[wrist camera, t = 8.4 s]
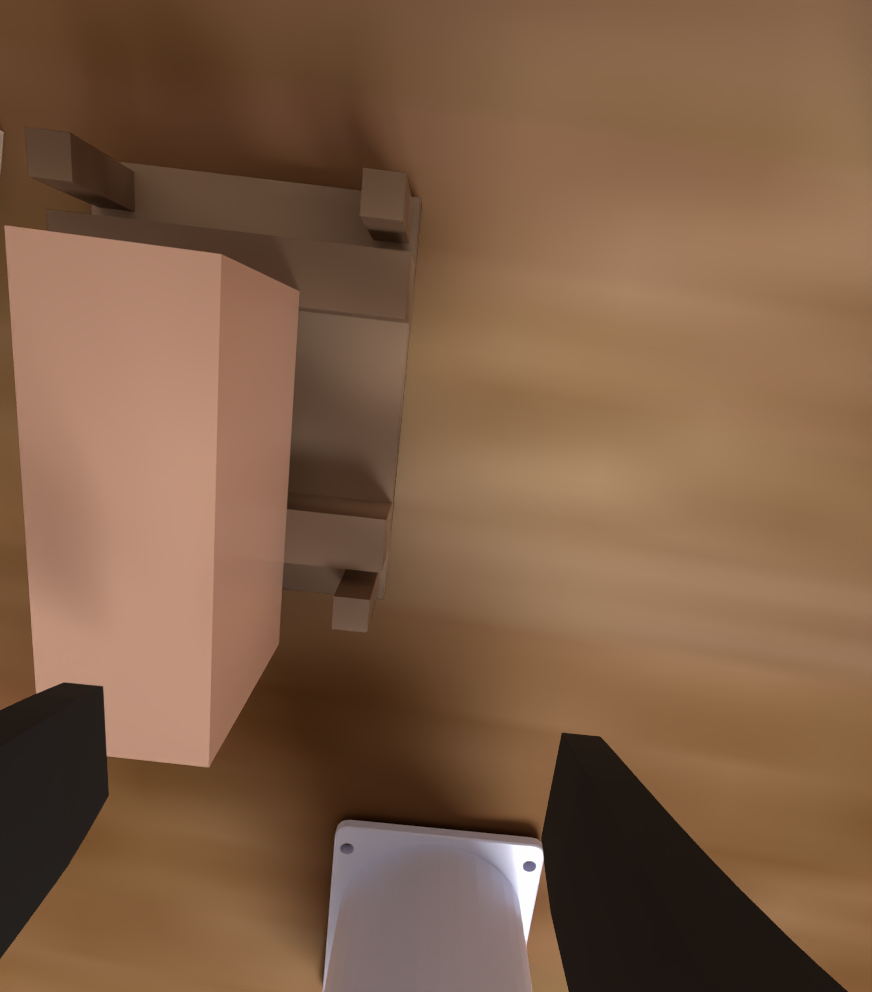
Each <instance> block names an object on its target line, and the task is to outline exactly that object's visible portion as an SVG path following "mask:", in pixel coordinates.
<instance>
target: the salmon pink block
mask: <svg viewBox="0 0 872 992" xmlns="http://www.w3.org/2000/svg"><path fill="white" fill-rule="evenodd" d="M4 226H5V241H6V256H7V271H8V285H9V300H10V315H11V330H12V345H13V359H14V374H15V389H16V404H17V418H18V433H19V448H20V463H21V478H22V492H23V507H24V522H25V537H26V551H27V566H28V581H29V596H30V611H31V625H32V640H33V655H34V670H35V684H36V694H37V693H39V692H41V691H44V690H46V689H49V688H51V687H54V686H56V685H59V684H61V683H63V682H66V683H76V684H86V685H96V686H103V691H104V711H105V732H106V752H107V756H111V757H120V758H129V759H138V760H147V761H156V762H165V763H174V764H182V765H191V766H200V767H209V766H210V765H211V763H212V761H213V759H214V758H215V756H216V754H217V752H218V750H219V749H220V747H221V745H222V743H223V742H224V740H225V738H226V736H227V735H228V733H229V731H230V729H231V728H232V726H233V724H234V722H235V721H236V719H237V717H238V715H239V713H240V712H241V710H242V708H243V706H244V705H245V703H246V701H247V699H248V698H249V696H250V694H251V692H252V691H253V689H254V687H255V685H256V684H257V682H258V680H259V678H260V677H261V675H262V673H263V671H264V669H265V668H266V666H267V664H268V662H269V661H270V659H271V657H272V655H273V654H274V652H275V650H276V648H277V647H278V645H279V633H280V616H281V599H282V582H283V565H284V548H285V531H286V514H287V497H288V480H289V463H290V446H291V430H292V413H293V396H294V379H295V362H296V345H297V328H298V311H299V294H300V291H298V290H296V289H293V288H291V287H289V286H287V285H285V284H283V283H281V282H279V281H277V280H275V279H273V278H270V277H268V276H266V275H264V274H262V273H260V272H258V271H256V270H254V269H252V268H249V267H247V266H245V265H243V264H241V263H239V262H237V261H235V260H233V259H231V258H229V257H226V256H224V255H222V254H217V253H209V252H202V251H194V250H187V249H179V248H172V247H164V246H157V245H149V244H142V243H134V242H127V241H119V240H112V239H104V238H97V237H89V236H82V235H74V234H66V233H59V232H51V231H44V230H36V229H29V228H21V227H14V226H6V225H4Z"/></svg>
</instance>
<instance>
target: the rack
mask: <svg viewBox="0 0 872 992" xmlns="http://www.w3.org/2000/svg"><path fill="white" fill-rule="evenodd" d="M25 135H26V149H27V163H28V177H31V178H33V179H35V180H37V181H40V182H42V183H44V184H47V185H49V186H51V187H53V188H56V189H58V190H60V191H62V192H65V193H67V194H69V195H71V196H74V197H76V198H78V199H80V200H83V201H85V202H87V203H89V204H91V210H92V214H85V213H77V212H68V211H60V210H51V209H46V216H47V231H51V232H59V233H66V234H74V235H82V236H89V237H97V238H104V239H112V240H119V241H127V242H134V243H142V244H149V245H157V246H164V247H172V248H179V249H187V250H194V251H202V252H209V253H217V254H222V255H224V256H226V257H229V258H231V259H233V260H235V261H237V262H239V263H241V264H243V265H245V266H247V267H249V268H252V269H254V270H256V271H258V272H260V273H262V274H264V275H266V276H268V277H270V278H273V279H275V280H277V281H279V282H281V283H283V284H285V285H287V286H289V287H291V288H293V289H296V290H298V291H300V294H299V311H298V328H297V345H296V362H295V379H294V396H293V413H292V430H291V446H290V463H289V480H288V497H287V514H286V531H285V548H284V565H283V582H282V589H286V590H296V591H305V592H315V593H324V594H334V598H333V613H332V627H331V629H336V630H345V631H355V632H365V633H367V631H368V627H369V623H370V620H371V616H372V612H373V609H374V605H375V601H376V599H381V600H383V598H384V594H385V590H386V579H387V569H388V558H389V548H390V537H391V526H392V516H393V505H394V495H395V484H396V473H397V463H398V452H399V441H400V431H401V420H402V410H403V399H404V388H405V378H406V367H407V357H408V346H409V335H410V325H411V314H412V303H413V293H414V282H415V272H416V261H417V250H418V240H419V229H420V219H421V208H422V204H421V198H419V197H411V193H410V187H409V182H408V176H407V173H403V172H394V171H386V170H378V169H370V168H363V175H362V189H361V190H352V189H344V188H336V187H327V186H319V185H311V184H302V183H294V182H286V181H277V180H269V179H261V178H252V177H244V176H236V175H227V174H219V173H210V172H202V171H194V170H185V169H177V168H169V167H160V166H152V165H144V164H135V163H127V162H119V161H116V160H114V159H113V158H111V157H109V156H108V155H106V154H104V153H103V152H101V151H100V150H98V149H96V148H95V147H93V146H91V145H90V144H88V143H86V142H85V141H83V140H82V139H80V138H78V137H77V136H75V135H73V134H72V133H70V132H63V131H54V130H46V129H38V128H29V127H25Z"/></svg>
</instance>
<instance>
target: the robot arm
mask: <svg viewBox="0 0 872 992" xmlns="http://www.w3.org/2000/svg"><path fill="white" fill-rule="evenodd" d="M108 796H109V793H108V772H107V752H106V732H105V711H104V691H103V686H96V685H86V684H76V683H66V682H63V683H61V684H59V685H56V686H54V687H51V688H49V689H46V690H44V691H41V692H39V693H37V694H35V695H32V696H30V697H28V698H26V699H24V700H21V701H19V702H17V703H15V704H13V705H11V706H9V707H6V708H4V709H2V710H0V958H1V957H2V956H3V954H4V953H5V952H6V950H7V949H8V947H9V946H10V945H11V943H12V942H13V941H14V939H15V938H16V937H17V935H18V934H19V933H20V931H21V930H22V929H23V927H24V926H25V924H26V923H27V922H28V920H29V919H30V918H31V916H32V915H33V913H34V912H35V911H36V909H37V908H38V907H39V905H40V904H41V902H42V901H43V900H44V898H45V897H46V896H47V894H48V893H49V891H50V890H51V889H52V887H53V886H54V885H55V883H56V882H57V880H58V879H59V878H60V876H61V875H62V873H63V872H64V870H65V869H66V868H67V866H68V865H69V863H70V861H71V860H72V858H73V856H74V855H75V853H76V851H77V850H78V848H79V846H80V845H81V843H82V841H83V840H84V838H85V836H86V835H87V833H88V831H89V829H90V828H91V826H92V824H93V822H94V821H95V819H96V817H97V815H98V814H99V812H100V810H101V808H102V806H103V805H104V803H105V801H106V799H107V798H108ZM541 839H542V843H541V842H540V841H539V840H538V839H536V838H532V837H522V836H512V835H501V834H491V833H481V832H471V831H460V830H450V829H440V828H430V827H419V826H409V825H399V824H389V823H378V822H368V821H358V820H344V821H342V822H340V823H339V824H338V826H337V829H336V833H335V841H334V854H333V866H332V879H331V892H330V905H329V917H328V930H327V943H326V955H325V968H324V981H323V992H533V990H532V983H531V976H530V969H529V962H528V955H527V948H526V945H527V940H528V935H529V930H530V925H531V920H532V915H533V910H534V905H535V900H536V895H537V890H538V885H539V880H540V875H541V870H542V865H543V860H544V864H545V873H546V881H547V888H548V895H549V903H550V910H551V915H552V920H553V924H554V929H555V933H556V938H557V942H558V946H559V951H560V955H561V959H562V964H563V968H564V972H565V977H566V981H567V985H568V990H569V992H848V991H847V990H845V989H844V988H843V987H842V986H841V985H840V984H839V983H838V982H836V981H835V980H834V979H833V978H832V977H831V976H830V975H829V974H828V973H826V972H825V971H824V970H823V969H822V968H821V967H820V966H819V965H818V964H817V963H815V962H814V961H813V960H812V959H811V958H810V957H809V956H808V955H807V954H806V953H805V952H804V951H803V950H802V949H801V948H799V947H798V946H797V945H796V944H795V943H794V942H793V941H792V940H791V939H790V938H789V937H788V936H787V935H786V934H785V933H784V932H783V931H782V930H781V929H780V928H779V927H778V926H777V925H776V924H775V923H774V922H773V921H772V920H771V919H770V918H769V917H768V916H767V915H766V914H765V913H764V912H763V911H762V910H761V909H760V908H759V907H758V906H757V905H755V904H754V903H753V902H752V901H751V900H750V899H749V898H748V897H747V896H746V895H745V894H744V893H743V892H742V891H741V890H740V889H739V888H738V887H737V886H736V885H735V884H734V883H733V881H732V880H731V879H730V878H729V877H728V876H727V875H726V874H725V873H724V872H723V871H722V870H721V869H720V868H719V867H718V866H717V865H716V864H715V863H714V862H713V861H712V860H711V859H710V858H709V857H708V855H707V854H706V853H705V852H704V851H703V850H702V849H701V848H700V847H699V846H698V845H697V844H696V843H695V842H694V841H693V839H692V838H691V837H690V836H689V835H688V834H687V833H686V832H685V831H684V830H683V829H682V827H681V826H680V825H679V824H678V823H677V822H676V821H675V820H674V819H673V818H672V816H671V815H670V814H669V813H668V812H667V811H666V810H665V809H664V808H663V807H662V805H661V804H660V803H659V802H658V801H657V800H656V799H655V797H654V796H653V795H652V794H651V793H650V792H649V791H648V790H647V788H646V787H645V786H644V785H643V784H642V783H641V782H640V781H639V779H638V778H637V777H636V776H635V775H634V774H633V773H632V771H631V770H630V769H629V768H628V767H627V766H626V765H625V763H624V762H623V761H622V760H621V759H620V758H619V757H618V756H617V754H616V753H615V752H614V751H613V750H612V749H611V748H610V747H609V746H608V744H607V743H606V742H605V741H604V740H603V739H602V738H601V737H599V736H589V735H579V734H569V733H562V735H561V740H560V745H559V750H558V755H557V760H556V766H555V771H554V776H553V781H552V786H551V791H550V796H549V801H548V806H547V811H546V816H545V822H544V827H543V832H542V837H541ZM345 843H348V844H351V845H346V844H345ZM526 861H531V862H528V863H526Z"/></svg>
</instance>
